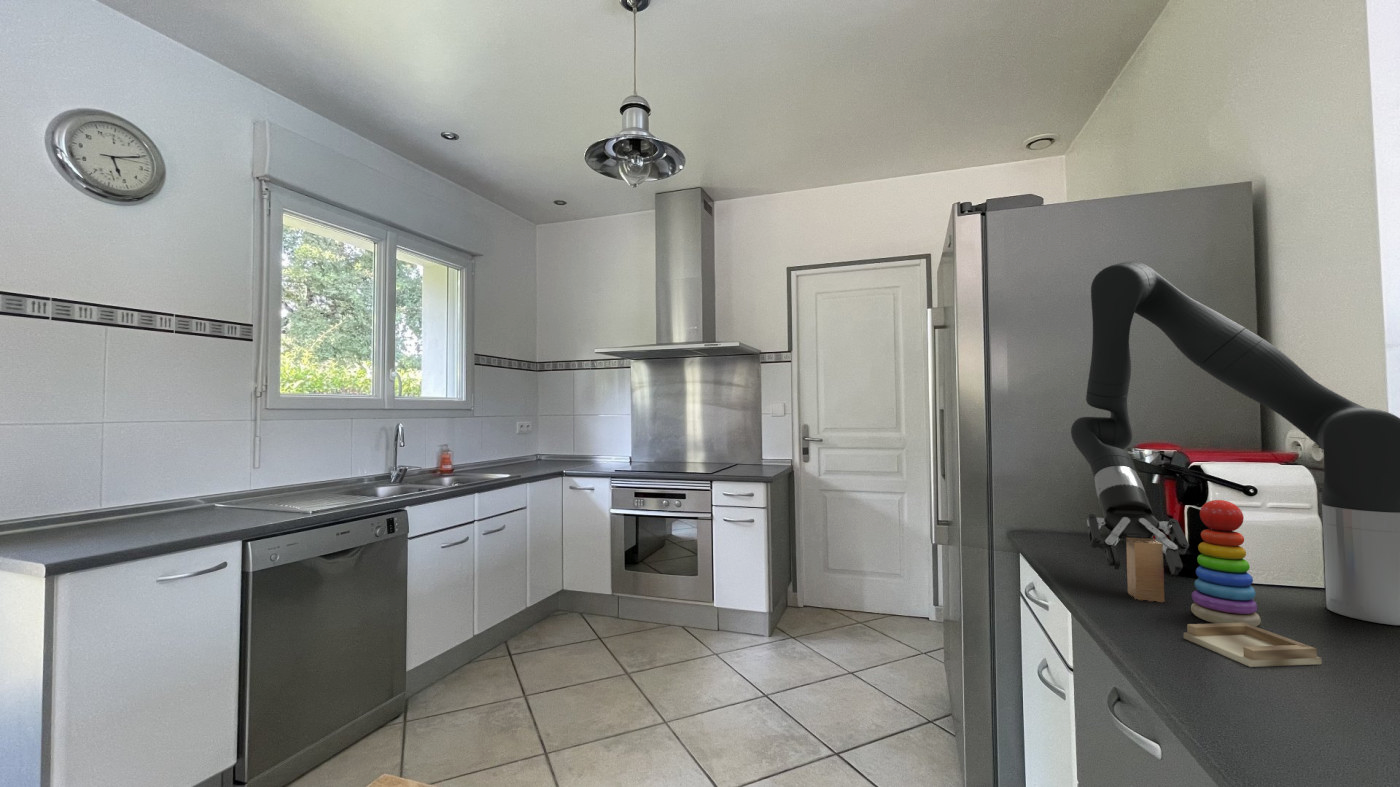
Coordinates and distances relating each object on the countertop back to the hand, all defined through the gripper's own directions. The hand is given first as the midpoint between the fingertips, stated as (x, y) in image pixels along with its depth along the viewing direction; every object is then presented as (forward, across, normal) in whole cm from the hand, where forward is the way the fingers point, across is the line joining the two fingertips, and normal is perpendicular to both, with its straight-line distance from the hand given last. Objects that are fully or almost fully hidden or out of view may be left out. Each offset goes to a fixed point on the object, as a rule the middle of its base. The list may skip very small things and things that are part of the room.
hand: (1146, 569), depth 97 cm
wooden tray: (+18, +5, -11) cm, 22 cm away
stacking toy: (+9, +7, -2) cm, 12 cm away
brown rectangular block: (+3, 0, +4) cm, 5 cm away
